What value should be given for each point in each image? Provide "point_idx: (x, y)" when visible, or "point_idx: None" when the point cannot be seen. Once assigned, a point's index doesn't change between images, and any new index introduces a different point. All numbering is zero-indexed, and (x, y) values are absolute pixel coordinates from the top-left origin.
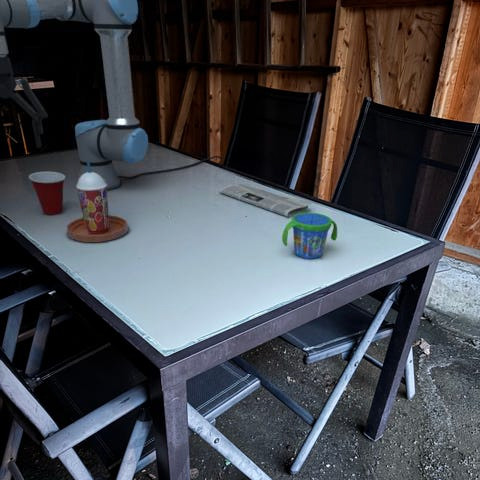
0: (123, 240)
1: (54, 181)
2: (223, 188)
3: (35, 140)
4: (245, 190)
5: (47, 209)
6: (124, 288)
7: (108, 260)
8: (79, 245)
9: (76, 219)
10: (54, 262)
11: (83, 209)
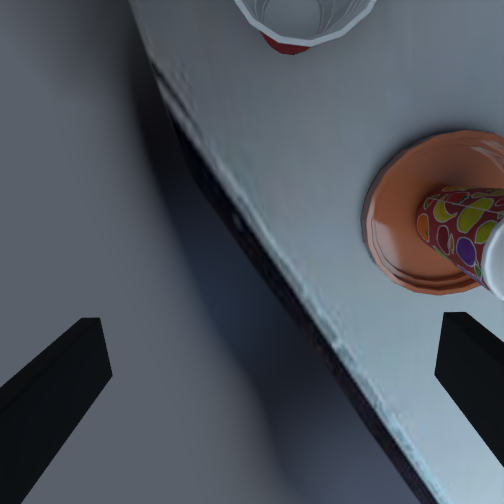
0: None
1: (352, 27)
2: None
3: (463, 413)
4: None
5: (283, 51)
6: (473, 466)
7: None
8: (393, 296)
9: (389, 169)
10: (347, 370)
11: (449, 259)
